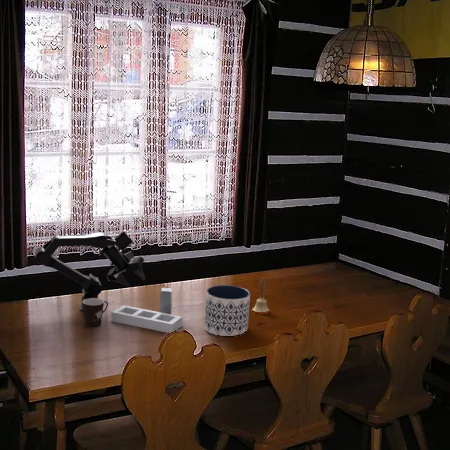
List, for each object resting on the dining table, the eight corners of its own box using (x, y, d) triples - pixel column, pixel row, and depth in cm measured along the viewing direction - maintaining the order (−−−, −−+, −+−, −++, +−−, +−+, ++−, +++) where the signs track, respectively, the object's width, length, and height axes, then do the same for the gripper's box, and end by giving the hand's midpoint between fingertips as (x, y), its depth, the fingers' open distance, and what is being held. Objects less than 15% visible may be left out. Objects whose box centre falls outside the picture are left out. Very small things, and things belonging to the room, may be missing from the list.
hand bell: (268, 315, 308) (271, 281, 305) (250, 313, 310) (252, 279, 306) (271, 309, 316) (273, 276, 312) (253, 307, 318) (255, 274, 314)
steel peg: (159, 317, 298) (160, 290, 295) (161, 313, 302) (162, 287, 299) (170, 318, 298) (171, 291, 295) (171, 314, 302) (172, 288, 299)
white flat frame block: (111, 321, 290) (111, 312, 289) (122, 313, 299) (123, 305, 298) (171, 333, 281) (172, 324, 280) (182, 325, 290) (182, 316, 289)
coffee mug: (85, 329, 279) (86, 306, 277) (79, 322, 286) (80, 299, 284) (113, 326, 284) (114, 303, 282) (106, 319, 292) (107, 296, 290)
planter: (232, 341, 277) (235, 302, 273) (195, 330, 286) (197, 292, 282) (255, 328, 292) (258, 291, 288) (219, 318, 301) (221, 282, 297)
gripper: (137, 238, 301) (158, 264, 306) (106, 252, 310) (127, 278, 316) (128, 253, 292) (150, 280, 298) (97, 268, 301) (119, 293, 307)
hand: (136, 282), depth 305 cm, fingers open, 9 cm apart
